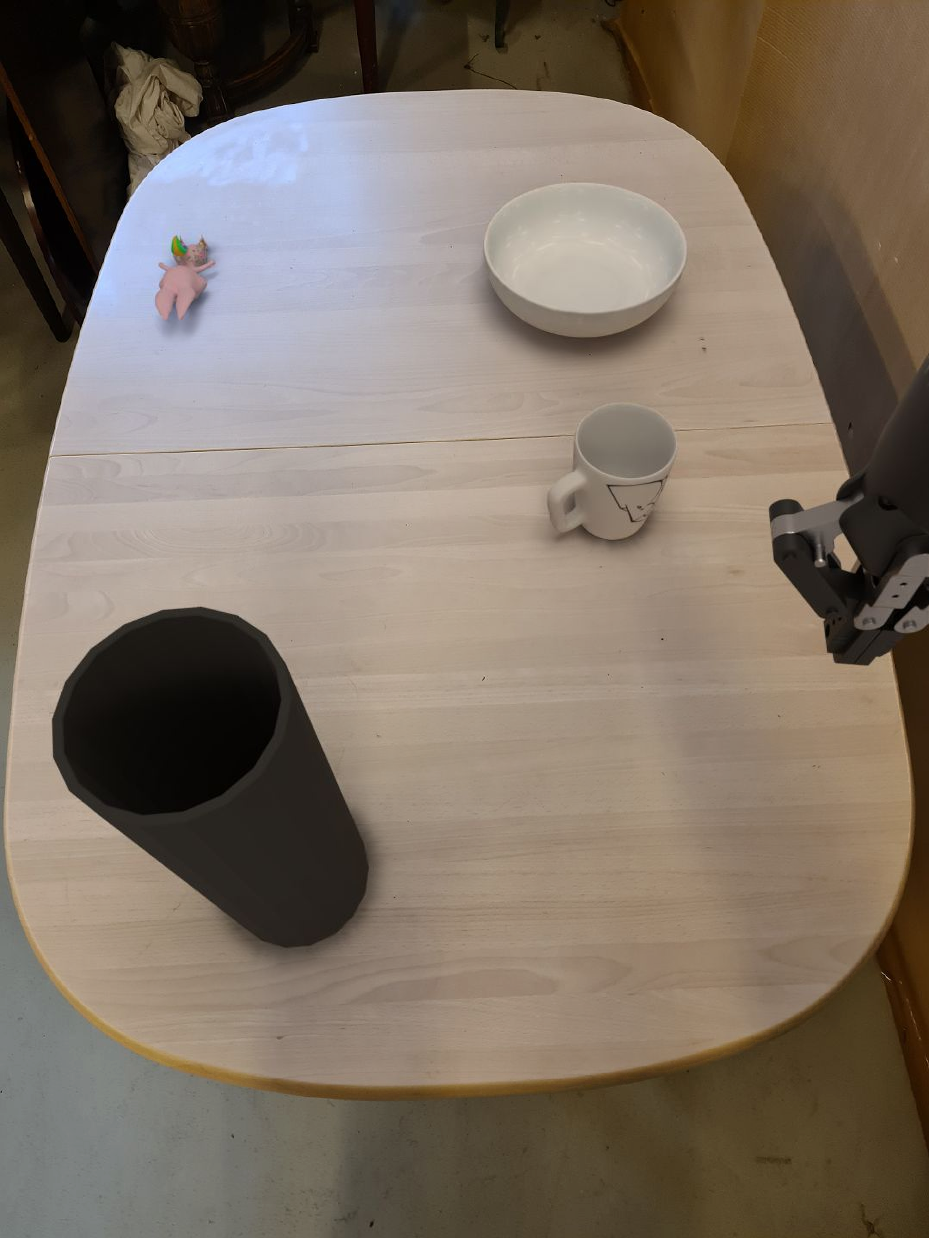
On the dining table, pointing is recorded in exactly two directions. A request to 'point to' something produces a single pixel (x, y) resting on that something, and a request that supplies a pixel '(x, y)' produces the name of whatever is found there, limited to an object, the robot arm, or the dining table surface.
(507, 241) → the serving bowl
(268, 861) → the vase
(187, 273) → the pink soft figure
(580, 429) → the mug
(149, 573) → the dining table surface
